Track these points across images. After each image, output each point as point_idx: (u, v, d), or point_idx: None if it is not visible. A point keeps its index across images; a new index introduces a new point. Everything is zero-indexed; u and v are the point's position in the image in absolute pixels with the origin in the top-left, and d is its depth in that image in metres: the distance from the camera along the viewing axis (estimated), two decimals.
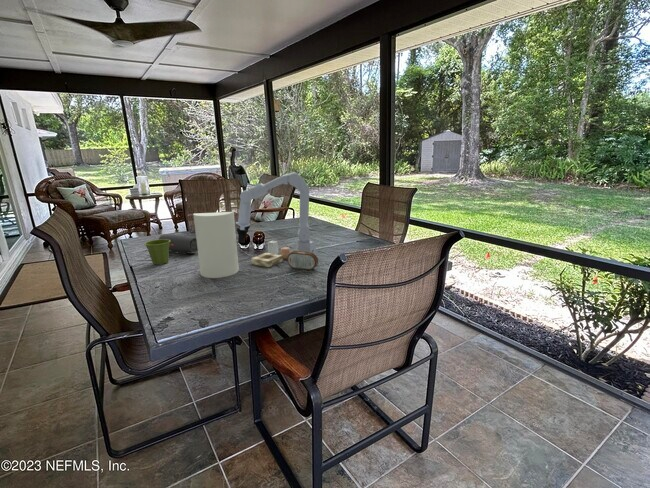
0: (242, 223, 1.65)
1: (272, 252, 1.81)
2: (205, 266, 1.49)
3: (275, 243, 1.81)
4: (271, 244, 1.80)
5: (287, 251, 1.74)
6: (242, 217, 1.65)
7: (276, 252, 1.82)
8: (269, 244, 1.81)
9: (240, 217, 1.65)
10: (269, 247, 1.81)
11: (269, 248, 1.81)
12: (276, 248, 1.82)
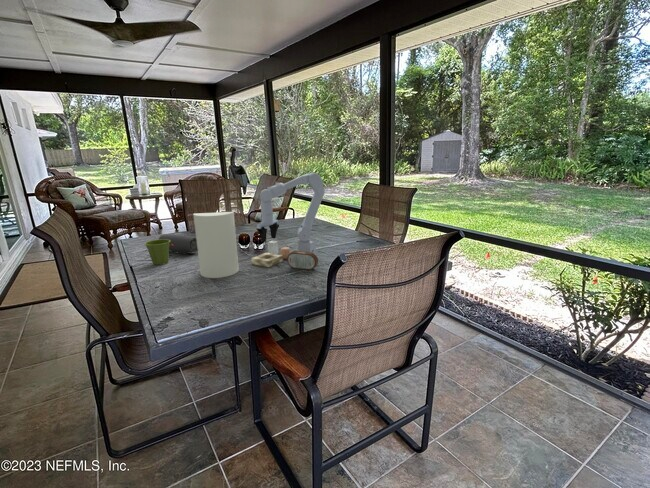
0: (263, 222, 1.68)
1: (272, 252, 1.81)
2: (205, 266, 1.49)
3: (275, 243, 1.81)
4: (271, 244, 1.80)
5: (287, 251, 1.74)
6: (262, 216, 1.67)
7: (276, 252, 1.82)
8: (269, 244, 1.81)
9: None
10: (269, 247, 1.81)
11: (269, 248, 1.81)
12: (276, 248, 1.82)
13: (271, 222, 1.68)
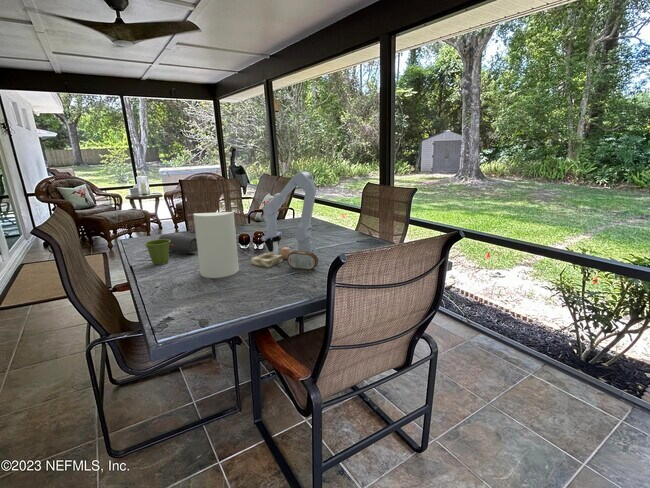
0: (268, 234, 1.78)
1: (272, 252, 1.81)
2: (205, 266, 1.49)
3: (275, 243, 1.81)
4: None
5: (287, 251, 1.74)
6: (267, 229, 1.78)
7: (276, 252, 1.82)
8: None
9: None
10: None
11: None
12: (276, 248, 1.82)
13: (275, 234, 1.79)
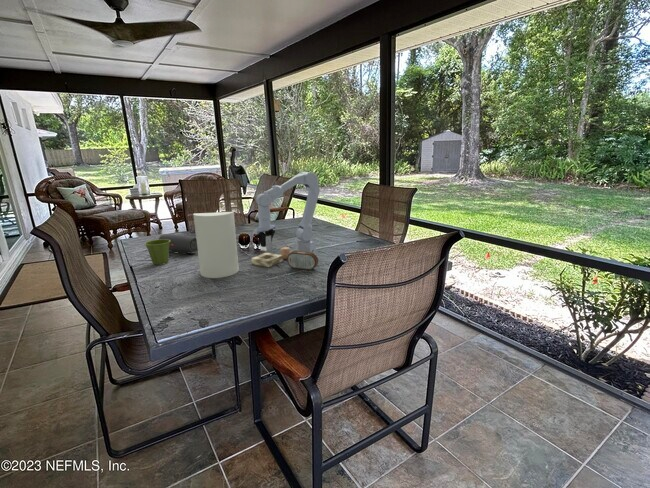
0: (260, 227, 1.62)
1: (265, 247, 1.65)
2: (205, 266, 1.49)
3: (268, 237, 1.65)
4: None
5: (287, 251, 1.74)
6: (259, 221, 1.62)
7: (269, 247, 1.67)
8: None
9: (259, 221, 1.63)
10: None
11: None
12: (269, 243, 1.66)
13: (268, 227, 1.63)
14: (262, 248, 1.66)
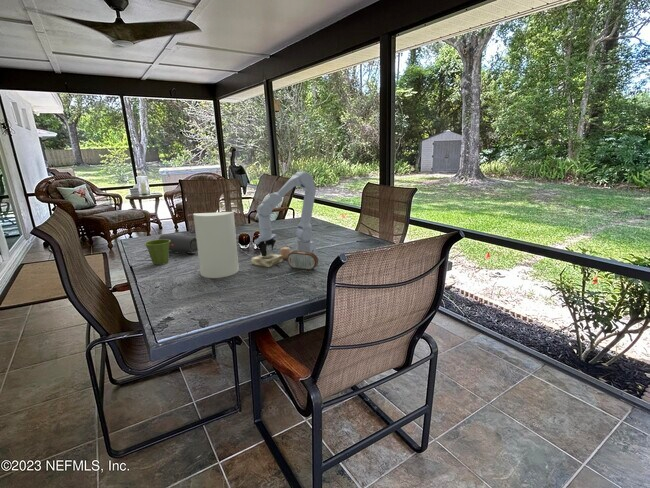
0: (261, 237, 1.64)
1: (265, 257, 1.66)
2: (205, 266, 1.49)
3: (269, 247, 1.66)
4: None
5: (287, 251, 1.74)
6: (260, 231, 1.63)
7: (270, 257, 1.68)
8: None
9: None
10: None
11: None
12: (270, 252, 1.67)
13: (269, 237, 1.64)
14: (263, 257, 1.67)
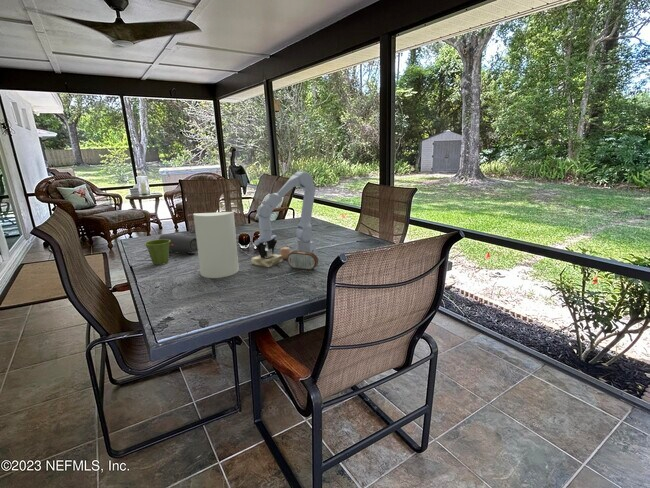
0: (261, 238, 1.64)
1: None
2: (205, 266, 1.49)
3: (269, 251, 1.67)
4: (265, 252, 1.66)
5: (287, 251, 1.74)
6: (260, 232, 1.63)
7: None
8: None
9: None
10: None
11: None
12: (270, 256, 1.68)
13: (269, 238, 1.64)
14: None
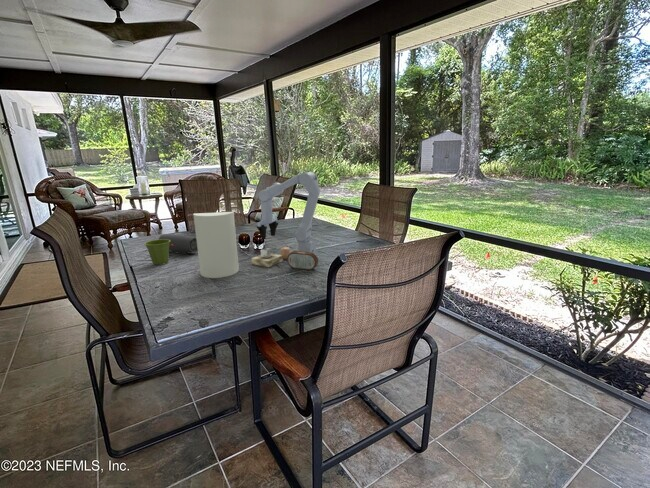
0: (263, 220, 1.77)
1: None
2: (205, 266, 1.49)
3: (269, 251, 1.67)
4: (265, 252, 1.66)
5: (287, 251, 1.74)
6: (262, 215, 1.76)
7: None
8: (262, 252, 1.66)
9: None
10: (262, 255, 1.67)
11: (262, 256, 1.67)
12: (270, 256, 1.68)
13: (271, 220, 1.77)
14: None
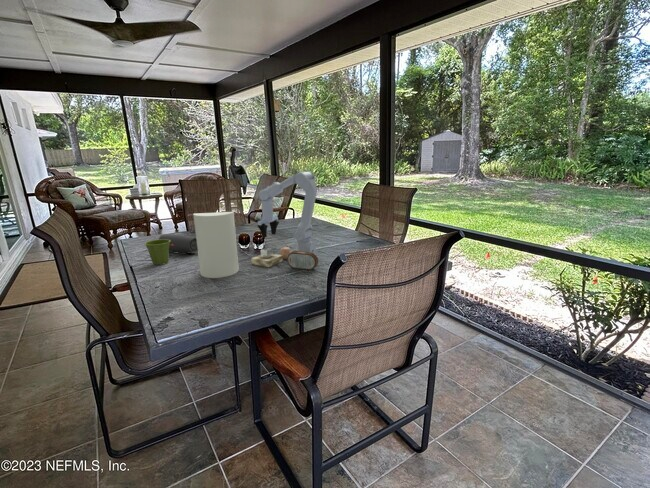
0: (263, 219, 1.80)
1: None
2: (205, 266, 1.49)
3: (269, 251, 1.67)
4: (265, 252, 1.66)
5: (287, 251, 1.74)
6: (263, 213, 1.79)
7: None
8: (262, 252, 1.66)
9: (262, 214, 1.80)
10: (262, 255, 1.67)
11: (262, 256, 1.67)
12: (270, 256, 1.68)
13: (271, 219, 1.80)
14: None
